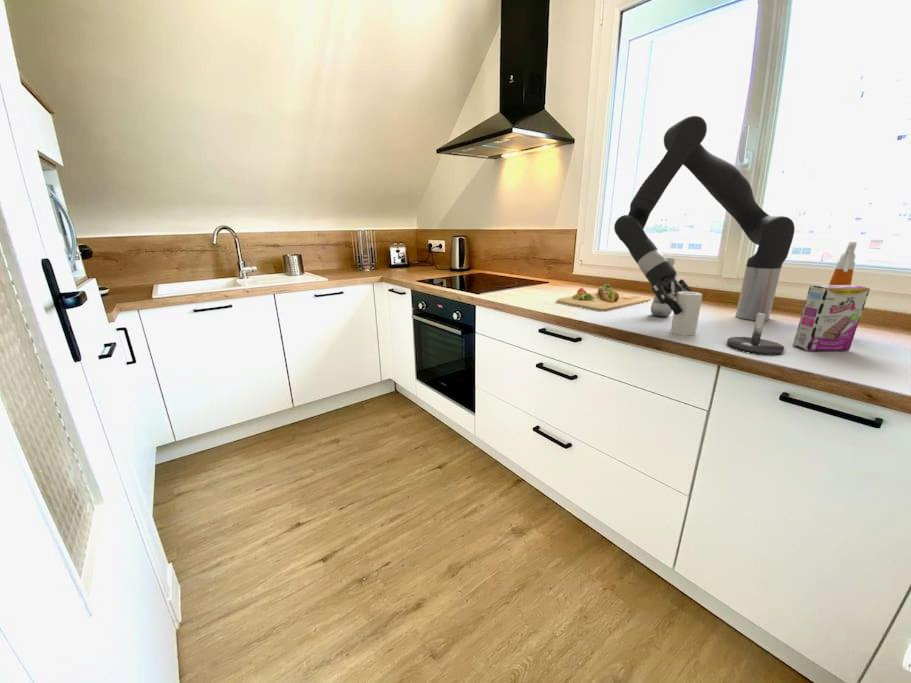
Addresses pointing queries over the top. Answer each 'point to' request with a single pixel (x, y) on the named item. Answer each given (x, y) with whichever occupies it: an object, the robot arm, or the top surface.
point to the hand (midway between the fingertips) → (687, 311)
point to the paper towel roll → (687, 313)
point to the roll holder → (756, 341)
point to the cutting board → (602, 299)
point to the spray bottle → (844, 267)
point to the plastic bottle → (657, 306)
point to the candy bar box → (830, 317)
